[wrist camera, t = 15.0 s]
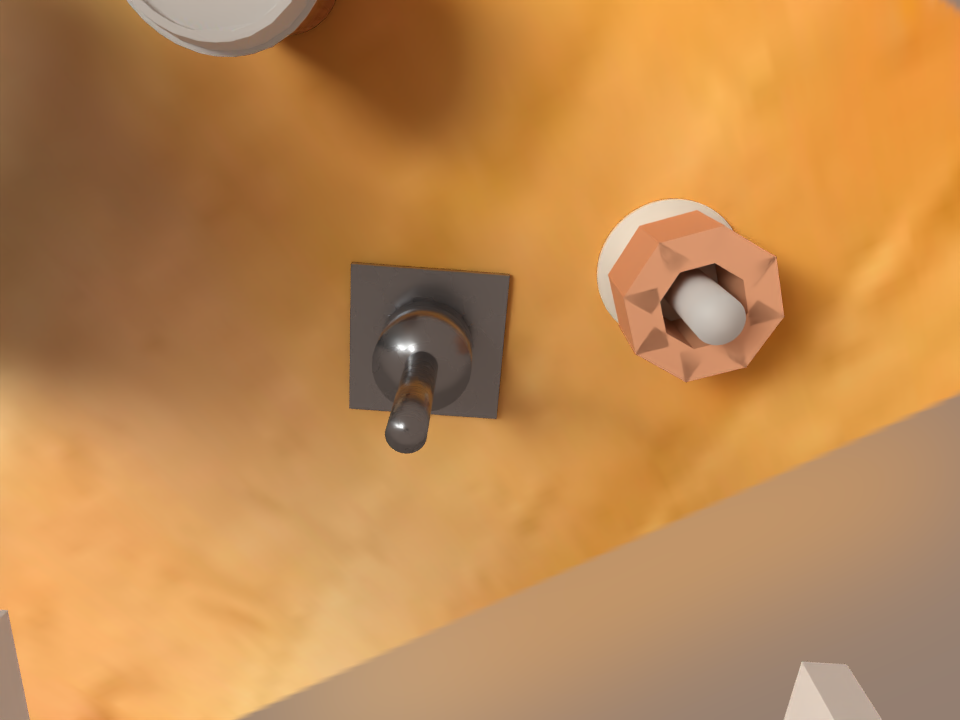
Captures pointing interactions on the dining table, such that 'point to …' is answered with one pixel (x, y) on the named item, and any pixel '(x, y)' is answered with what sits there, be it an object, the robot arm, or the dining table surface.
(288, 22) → the disposable coffee cup
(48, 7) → the dining table surface
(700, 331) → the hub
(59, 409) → the dining table surface
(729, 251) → the collar
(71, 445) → the dining table surface
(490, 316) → the stand
